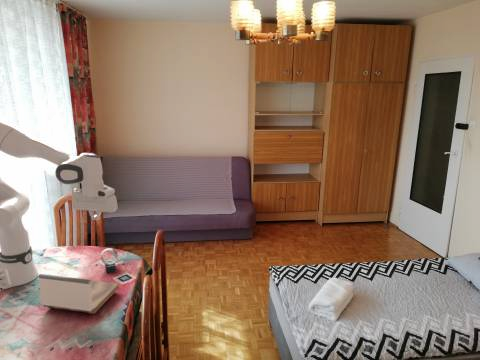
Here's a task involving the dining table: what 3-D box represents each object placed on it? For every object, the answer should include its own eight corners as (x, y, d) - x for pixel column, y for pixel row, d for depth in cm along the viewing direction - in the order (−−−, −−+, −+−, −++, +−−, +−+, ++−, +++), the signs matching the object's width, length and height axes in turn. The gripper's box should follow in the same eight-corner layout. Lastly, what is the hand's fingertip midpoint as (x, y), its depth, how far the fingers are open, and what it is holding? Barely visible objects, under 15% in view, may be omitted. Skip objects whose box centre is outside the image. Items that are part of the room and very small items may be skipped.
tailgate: (40, 304, 131) (38, 275, 129) (43, 302, 133) (41, 273, 130) (90, 311, 128) (88, 281, 125) (92, 309, 129) (91, 279, 127)
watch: (119, 270, 165) (118, 249, 162) (102, 273, 162) (100, 252, 159) (118, 265, 170) (117, 245, 167) (101, 268, 167) (99, 247, 164)
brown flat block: (44, 310, 134) (43, 302, 133) (73, 286, 151) (72, 278, 150) (95, 318, 130) (94, 309, 129) (119, 292, 147) (118, 283, 146)
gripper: (67, 190, 146) (70, 220, 150) (110, 193, 143) (112, 224, 146) (76, 186, 152) (79, 215, 156) (118, 189, 149) (120, 218, 152)
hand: (95, 219), depth 151 cm, fingers closed
